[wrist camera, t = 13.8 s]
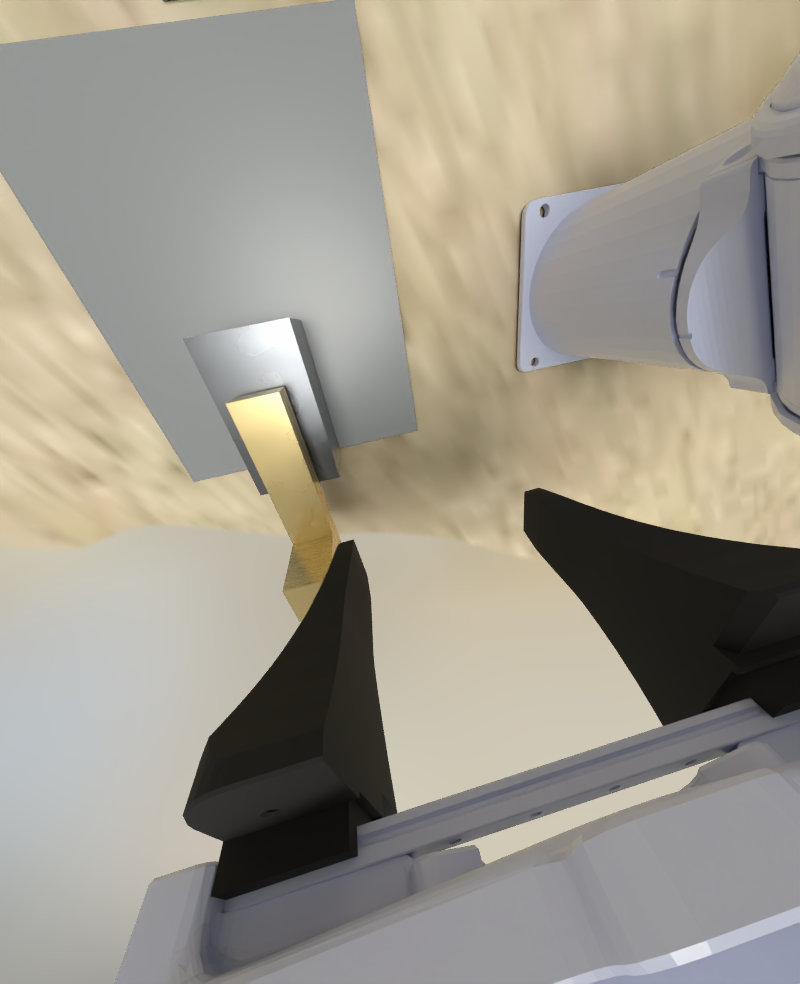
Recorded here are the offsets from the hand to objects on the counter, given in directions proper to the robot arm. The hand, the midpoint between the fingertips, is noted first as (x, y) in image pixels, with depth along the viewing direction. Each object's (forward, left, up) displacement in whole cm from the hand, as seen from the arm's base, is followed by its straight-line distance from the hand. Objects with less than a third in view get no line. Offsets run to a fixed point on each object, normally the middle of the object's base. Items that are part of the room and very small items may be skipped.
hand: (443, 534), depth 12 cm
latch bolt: (+6, -1, -4) cm, 7 cm away
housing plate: (+6, -10, -9) cm, 15 cm away
